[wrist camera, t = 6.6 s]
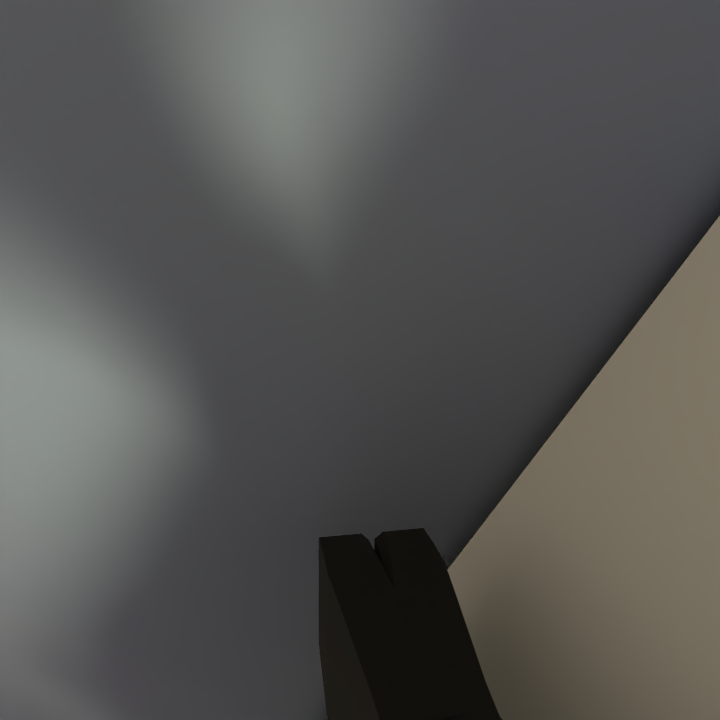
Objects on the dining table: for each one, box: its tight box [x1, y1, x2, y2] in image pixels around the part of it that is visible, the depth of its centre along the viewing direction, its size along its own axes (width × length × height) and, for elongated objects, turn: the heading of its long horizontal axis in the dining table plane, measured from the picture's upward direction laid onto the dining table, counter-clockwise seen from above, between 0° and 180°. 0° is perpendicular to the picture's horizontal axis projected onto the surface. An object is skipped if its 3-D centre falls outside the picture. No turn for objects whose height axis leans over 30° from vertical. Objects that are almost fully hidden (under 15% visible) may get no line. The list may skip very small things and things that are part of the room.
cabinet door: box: [447, 216, 720, 720], centre depth 9 cm, size 2×16×5 cm, turn 149°
